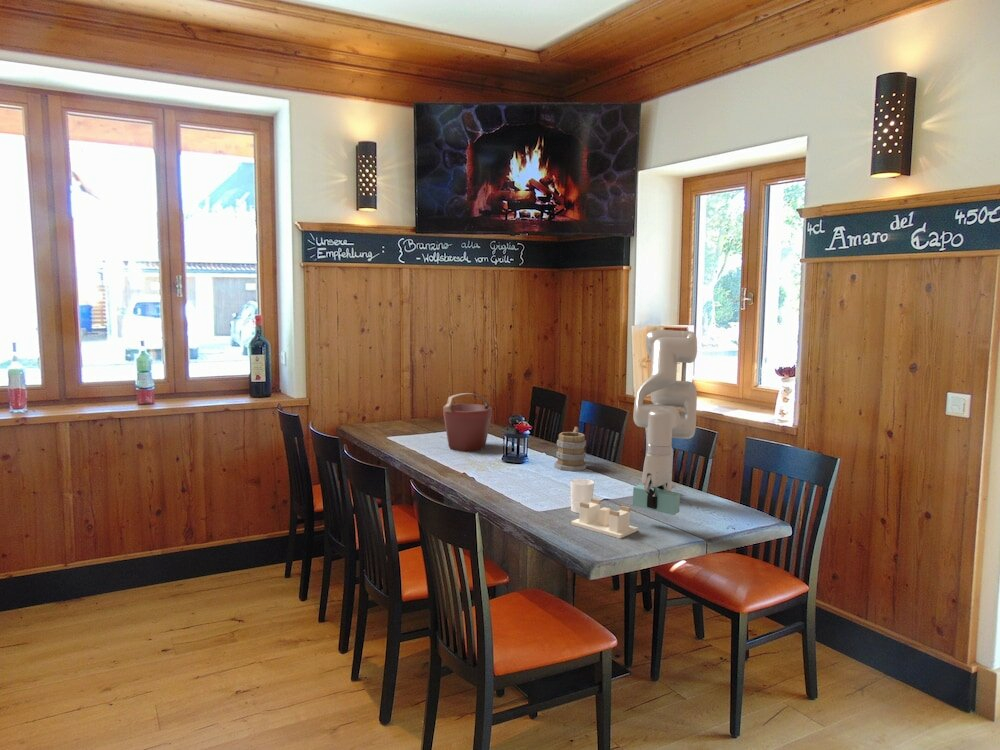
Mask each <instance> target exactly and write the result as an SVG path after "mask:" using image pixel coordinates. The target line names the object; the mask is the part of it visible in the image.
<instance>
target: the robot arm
mask: <svg viewBox="0 0 1000 750" xmlns="http://www.w3.org/2000/svg"><path fill="white" fill-rule="evenodd" d="M697 338H698V337H697V335H696V333H695V332H694V331H691V330H671V329H670V330H669V329H655V330H650V331H648V332H647V333H646V335H645V347H646V352H647V356H648V358H649V360H650V373H649V374H650V375H649V377H648V378H647V379H646V380H645V381H644V382H642V384H640V386H639V387H638V389H637V391H636V392H635V396H634V401H633V403H634V405H633V415H632V416H633V423H634V424H635V425H636V426H637V427H638V428H644V429H645V439H646V441H645V443H646V444H645V457H644V462H643V467H642V468H643V469H642V476H641V477H642V478H641V479H642V480H641V483H642V484H641V485H645V486H644V490H645V491H646V492H647V507H649V508H653V509H656V508H657V496H656V493H657V488H658V489H663V490H667V491H672V490H673V489H674V488H676V484H675V482H672V479H673V463H674V462H673V461H674V449H673V446H672V444H673V443H672V442H673V441H672V440H673V439H681V440H683V439H684V440H685V439H686V440H689V439H692V438H693V437H695V433H696V428H697V400H698V397H697V396H698V391H697V387H696V385H695V383H694V382H692V381H688V380H677V372H678V370H677V369H678V363H683V364H684V363H685V364H686V363H687V364H692V363H694V362H695V360H696V358H697V354H698V339H697ZM649 395H650V401H651V403H652V404H651V403H644V400H645V399H646V397H647V396H649ZM678 408H679V409H682V411H680V410H678ZM651 488H654V491H653V490H652V489H651Z"/></svg>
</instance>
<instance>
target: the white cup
mask: <svg viewBox="0 0 1000 750" xmlns="http://www.w3.org/2000/svg"><path fill="white" fill-rule="evenodd" d="M569 487H570V511H571V512H573V513H575V514H579V513H580V502H583V503H587V504H588V503H590V502H591V499H592V498H594V490H595V489H594V488H595V481H594V480H591V479H587V478H574V479H571V480H570V486H569Z"/></svg>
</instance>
